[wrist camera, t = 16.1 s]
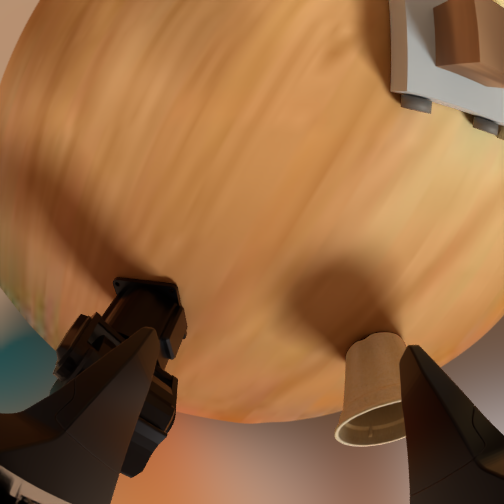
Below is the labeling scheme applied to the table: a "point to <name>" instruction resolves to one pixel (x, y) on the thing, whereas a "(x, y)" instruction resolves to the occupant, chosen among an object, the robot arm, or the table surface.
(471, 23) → the block
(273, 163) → the table surface
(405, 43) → the cart
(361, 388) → the flower pot
